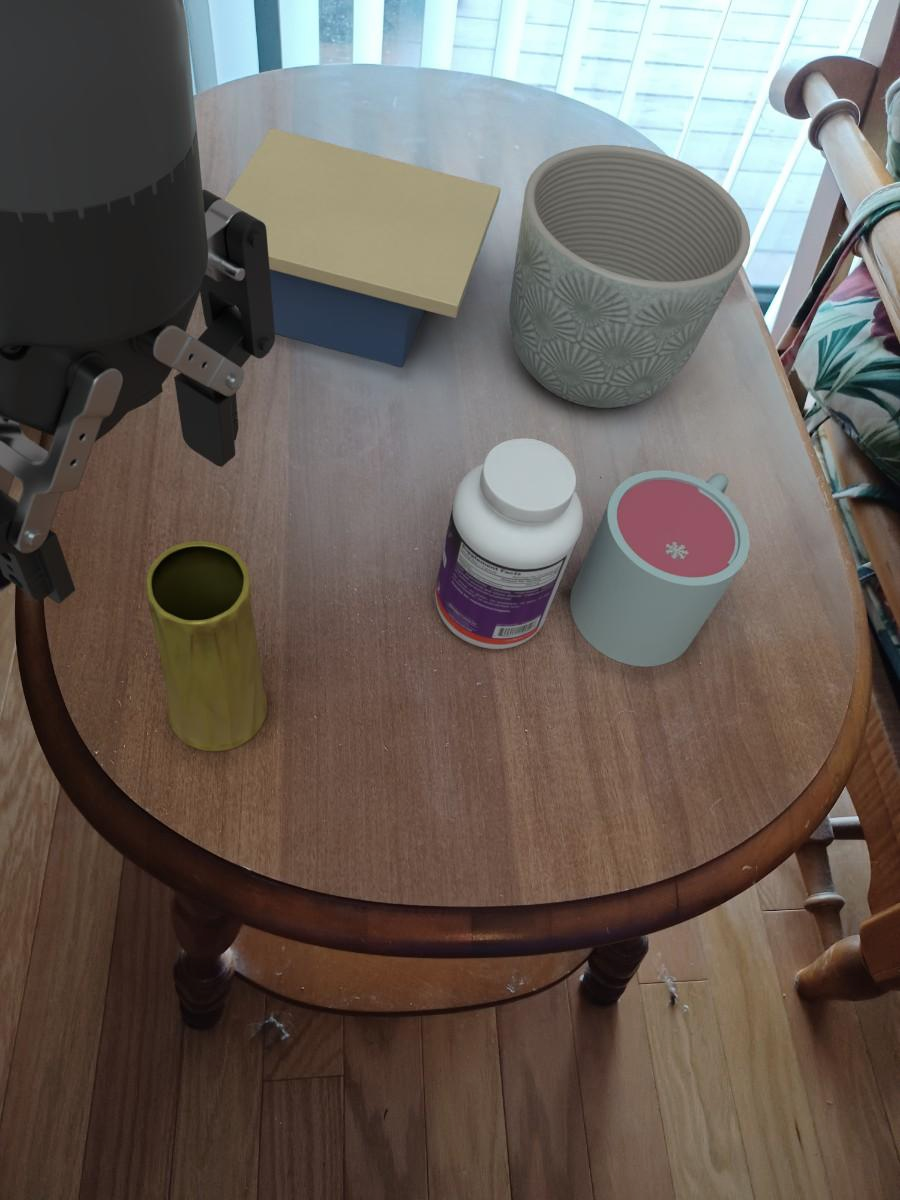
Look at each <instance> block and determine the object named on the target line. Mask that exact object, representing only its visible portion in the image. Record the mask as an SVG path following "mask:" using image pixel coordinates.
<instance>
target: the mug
mask: <svg viewBox="0 0 900 1200" xmlns="http://www.w3.org/2000/svg"><path fill="white" fill-rule="evenodd" d="M728 486H729V478H728V476H727V475H726V474H724V473H721V472H719V473H714V474H712V475H711V476H710V477H709V478H708V480H707V481H705V480H703V479H701V478H699V477H696V476H694V475H690V474H688V473H684V472H680V471H674V470H665V469H663V470H662V469H658V470H648V471H643V472H640V473H636V474H634V475H632V476H629V477H627V478H626V479H625V480H623V481H622V482H621V483H620V484H618V486H617V487H616V488H615V489H614V491H613V492H612V493H611V496H610V498H609V501H608V503H607V505H606V508H605V510H604V512H603V514H602V517H601V520H600V523H599V525H598V527H597V528H596V532H595V534H594V536H593V538H592V541H591V543H590V545H589V548H588V551H587V553H586V555H585V558H584V560H583V562H582V564H581V567H580V569H579V572H578V574H577V576H576V578H575V581H574V583H573V586H572V588H571V591H570V598H569V599H570V600H569V604H570V605H569V606H570V612H571V616H572V619H573V622H574V624H575V626H576V628H577V630H578V631H579V632H580V634H581V635H582V637H583V638H584V639H585V640H586V642H588V643H589V644H590V645H591V647H593V648H594V649H596V650H597V651H598V652H599V653H600V654H603V656H605V657H607V658H610V659H611V660H614V661H615V662H618V663H621V664H624V665H629V666H634V667H645V668H646V667H658V666H663V665H665V664H668V663H671V662H673V661H674V660H676V659H678V658H679V657H680V656H682V655H683V654H684V653H686V651H687V650H688V648H689V647H690V645H691V644H692V643H693V641H694V639H695V638H696V636H697V635H698V633H699V632H700V630H701V629H702V627H703V625H705V623H706V621H707V619H708V618H709V617H710V615H711V614H712V612H713V611H714V609H715V607H716V606H717V605H718V603H719V602H720V600H721V599H722V597H723V595H725V592H726V591H727V589H728V588H729V586H730V585H731V584H732V582H733V581H734V579H735V577H736V576H737V575H738V573H739V571H740V570H741V568H742V567H743V565H744V563H745V562H746V560H747V558H748V555H749V552H750V543H751V541H750V533H749V528H748V526H747V523H746V520H745V518H744V516H743V515H742V513H741V511H740V510H739V508H738V507H737V506H736V505H735V503H734V502H733V501H732V500H731V499H730V498H729V497H728V496H727V495H726V494H725V492H726V490H727V488H728Z"/></svg>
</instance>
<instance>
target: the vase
mask: <svg viewBox="0 0 900 1200" xmlns="http://www.w3.org/2000/svg"><path fill="white" fill-rule="evenodd" d="M145 586H146V596H147V598H146V599H147V603H148V609H149V613H150V619H151V623H152V627H153V631H154V636H155V637H154V638H155V641H156V643H157V647H158V652H159V656H160V657H159V658H160V662H161V669H162V673H163V674H162V675H163V681H164V686H165V692H166V697H167V706H166V709H167V717H168V722H169V726H170V727H171V730H172V731H173V732H174V734H175V735H176V737H178V738H179V739H180V740H181V741H182V742H183V743H185V744H186V745H188V746H189V747H192V748H194V749H197V750H200V751H204V752H224V751H229V750H233V749H235V748H238V747H240V746H242V745H243V744H246V743H247V742H248V741H250V740H251V739H252V738H253V737H254V736H256V734H257V733H258V732H259V731H260V729H261V727H262V725H263V724H264V722H265V719H266V717H267V712H268V699H267V693H266V691H265V689H264V679H263V670H262V665H261V659H260V652H259V642H258V638H257V631H256V626H255V620H254V616H253V611H252V606H251V598H252V595H251V594H252V588H251V577H250V571H249V568H248V566H247V564H246V562H245V561H244V559H243V558H242V556H240V554H238V553H237V552H236V551H235V550H233V549H232V548H231V547H229V546H226V545H224V544H222V543H218V542H214V541H209V540H193V541H186V542H180V543H178V544H176V545H173V546H171V547H169V548H168V549H166V550H165V551H163V552H162V553H161V554H160V555H159V556H158V557H156V558H155V560H154V561H153V562H152V563H151V565H150V566H149V568H148V571H147V574H146V579H145Z"/></svg>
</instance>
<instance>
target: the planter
mask: <svg viewBox="0 0 900 1200" xmlns="http://www.w3.org/2000/svg"><path fill="white" fill-rule="evenodd" d="M522 203H523V204H522V209H521V210H522V211H521V216H520V217H521V218H520V224H519V231H518V239H517V247H516V253H515V261H514V268H513V275H512V283H511V290H510V297H509V305H508V306H509V328H510V334H511V339H512V342H513V345H514V348H515V350H516V353H517V356H518V358H519V360H520V362H521V363H522V364H523V366H524V368H525V369H526V370H527V371H528V373H529V374H530V375H531V376H532V377H533V378H534V379H535V380H536V381H537V382H538V383H539V384H540V385H541V386H542V387H544V388H545V389H546V390H547V391H548V392H550V393H552V394H553V395H555V396H557V397H559V398H561V399H564V400H565V401H568V402H570V403H574V404H577V405H580V406H584V407H590V408H596V409H610V408H612V409H613V408H621V407H626V406H631V405H634V404H637V403H640V402H643V401H645V400H647V399H649V398H652V397H653V396H654V395H656V394H657V393H660V391H662V390H663V389H664V388H666V386H668V385H669V384H670V383H671V382H672V381H673V380H674V379H675V378H676V377H677V376H678V375H679V373H681V371H682V370H683V369H684V368H685V366H686V365H687V363H688V362H689V361H690V358H691V357H692V355H693V354H694V353H695V350H696V349H697V347H698V345H699V343H700V341H701V339H702V338H703V336H704V334H705V333H706V331H707V329H708V327H709V325H710V323H711V321H712V320H713V318H714V316H715V314H716V312H717V311H718V309H719V307H720V305H721V303H722V302H723V300H724V298H725V296H726V295H727V293H728V291H729V289H730V288H731V286H732V283H733V281H734V280H735V278H736V276H737V275H738V272H739V271H740V269H741V268H742V265H743V264H744V262H745V261H746V258H747V256H748V253H749V250H750V246H751V230H750V228H749V223H748V220H747V218H746V215H745V214H744V212H743V210H742V208H741V206H740V205H739V204H738V202H737V201H736V199H734V198H733V196H731V194H730V193H729V192H728V191H727V190H726V189H725V188H724V187H723V186H721V185H720V184H719V183H717V181H716V180H714V179H712V177H710V176H708V175H707V174H705V173H704V172H702V171H700V170H699V169H697V168H695V167H693V166H691V165H689V164H688V163H685V162H683V161H681V160H678V159H676V158H673V157H671V156H668V155H665V154H663V153H660V152H656V151H653V150H648V149H645V148H638V147H633V146H627V145H617V144H616V145H615V144H597V145H595V144H594V145H586V146H579V147H573V148H570V149H568V150H567V149H566V150H564V151H561V152H559V153H556V154H554V155H552V156H550V157H549V158H547V159H546V160H544V161H543V162H541V163H540V164H539V165H538V166H537V167H536V168H535V169H534V171H533V172H532V173H531V174H530V176H529V178H528V180H527V183H526V186H525V189H524V195H523V202H522Z"/></svg>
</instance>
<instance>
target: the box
mask: <svg viewBox="0 0 900 1200" xmlns="http://www.w3.org/2000/svg"><path fill="white" fill-rule="evenodd" d="M500 194H501V187H499V186H495V185H491V184H487V183H484V182H480V181H476V180H473V179H468V178H466V177H465V178H464V177H461V176H457V175H453V174H450V173H446V172H442V171H437V170H433V169H430V168H426V167H422V166H418V165H415V164H411V163H407V162H404V161H399V160H397V159H396V160H395V159H392V158H389V157H384V156H381V155H377V154H373V153H370V152H369V153H368V152H366V151H361V150H357V149H353V148H351V147H350V148H349V147H346V146H342V145H338V144H334V143H330V142H326V141H323V140H318V139H315V138H312V137H308V136H304V135H300V134H297V133H296V134H295V133H292V132H288V131H284V130H280V129H277V128H273V127H272V128H270V129H269V130H268V131H267V133H266V135H265V137H264V138H263V140H262V141H261V143H260V144H259V146H258V147H257V149H256V150H255V152H254V154H253V155H252V156H251V158H250V160H248V163H247V164H246V166H245V167H244V169H243V171H241V174H240V175H239V176H238V178H237V180H236V181H235V183H234V184H233V186H232V187H231V189H230V190H229V192H228V193H227V195H226V196H225V198H224V200H225V201H227V202H228V203H230V204H232V205H234V206H235V207H237V208H239V209H241V210H242V211H244V212H246V213H248V214H249V215H251V216H253V217H255V218H256V219H258V220H260V221H262V222H263V223H264V224H265V226H266V231H267V243H268V255H269V268H270V280H271V292H272V304H273V316H274V328H275V335H279V336H282V337H286V338H289V339H293V340H297V341H301V342H305V343H308V344H313V345H316V346H319V347H324V348H328V349H332V350H335V351H339V352H343V353H346V354H350V355H354V356H358V357H361V358H365V359H368V360H369V359H370V360H373V361H376V362H380V363H384V364H388V365H392V366H395V367H399V368H403V366H404V364H405V361H406V358H407V356H408V353H409V352H410V348H411V346H412V343H413V341H414V338H415V335H416V333H417V331H418V328H419V325H420V323H421V320H422V318H423V315H424V313H425V311H426V312H430V313H435V314H437V315H442V316H446V317H449V318H453V319H456V318H457V317H458V315H459V311H460V309H461V305H462V303H463V300H464V297H465V294H466V291H467V289H468V286H469V283H470V281H471V278H472V275H473V273H474V270H475V266H476V264H477V262H478V258H479V256H480V253H481V250H482V248H483V245H484V241H485V239H486V236H487V233H488V231H489V228H490V225H491V222H492V219H493V216H494V214H495V211H496V209H497V205H498V203H499V200H500Z"/></svg>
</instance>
